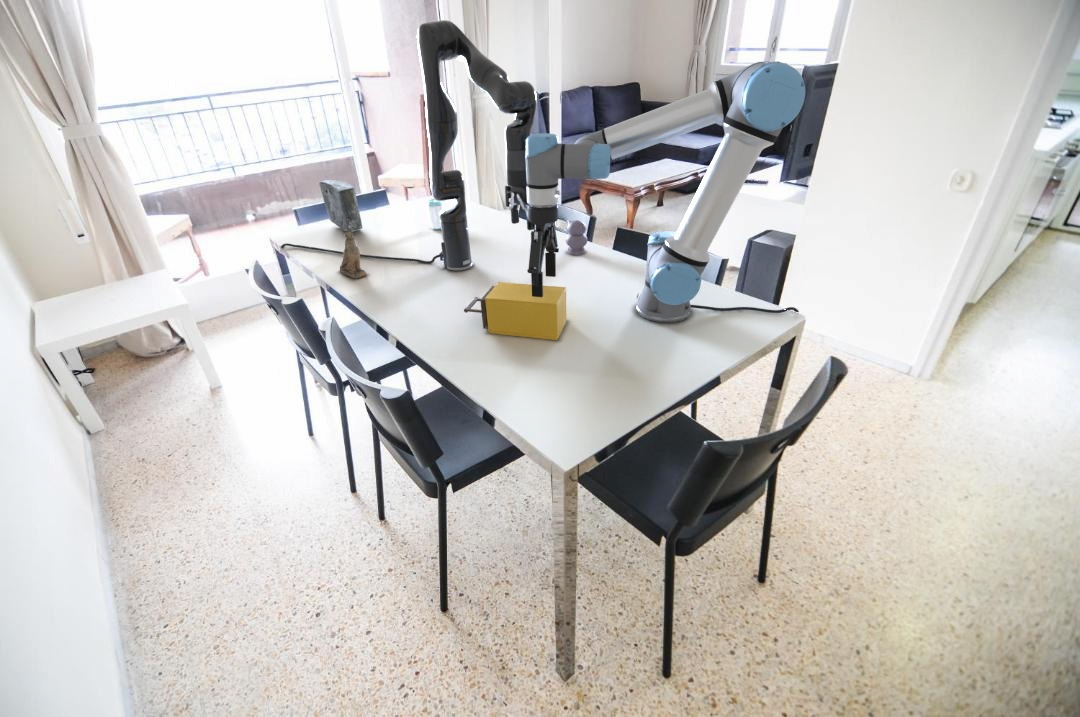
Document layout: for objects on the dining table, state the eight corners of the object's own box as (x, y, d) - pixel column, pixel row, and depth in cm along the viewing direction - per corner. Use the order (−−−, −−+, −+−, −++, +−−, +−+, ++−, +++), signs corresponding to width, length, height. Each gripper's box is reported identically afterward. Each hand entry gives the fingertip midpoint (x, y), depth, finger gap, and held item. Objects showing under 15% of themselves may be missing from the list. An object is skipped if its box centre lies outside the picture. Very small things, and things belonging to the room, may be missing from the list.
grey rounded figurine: (591, 251, 189) (592, 220, 183) (578, 257, 185) (578, 225, 178) (574, 246, 195) (574, 216, 188) (561, 252, 190) (560, 221, 183)
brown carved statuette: (368, 281, 178) (362, 235, 166) (353, 285, 175) (347, 238, 163) (352, 266, 184) (346, 221, 172) (338, 270, 181) (331, 224, 169)
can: (445, 229, 220) (441, 202, 214) (429, 230, 220) (425, 202, 214) (447, 224, 226) (444, 198, 220) (432, 225, 226) (428, 198, 220)
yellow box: (488, 333, 137) (484, 298, 131) (501, 315, 146) (498, 282, 140) (557, 340, 132) (556, 304, 126) (566, 321, 141) (566, 287, 135)
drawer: (464, 326, 138) (460, 298, 134) (477, 311, 146) (474, 284, 142) (547, 335, 133) (546, 305, 128) (555, 318, 141) (555, 290, 136)
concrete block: (367, 234, 218) (357, 187, 208) (347, 238, 214) (336, 190, 203) (348, 221, 237) (338, 177, 226) (329, 225, 232) (318, 180, 222)
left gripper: (546, 168, 130) (548, 229, 138) (517, 161, 140) (521, 218, 149) (522, 172, 127) (525, 234, 135) (494, 164, 137) (499, 223, 145)
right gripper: (544, 219, 109) (546, 307, 120) (569, 192, 129) (568, 269, 140) (512, 217, 110) (516, 304, 121) (541, 191, 131) (542, 267, 142)
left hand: (523, 226), depth 142 cm, fingers open, 8 cm apart
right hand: (544, 285), depth 131 cm, fingers open, 13 cm apart
